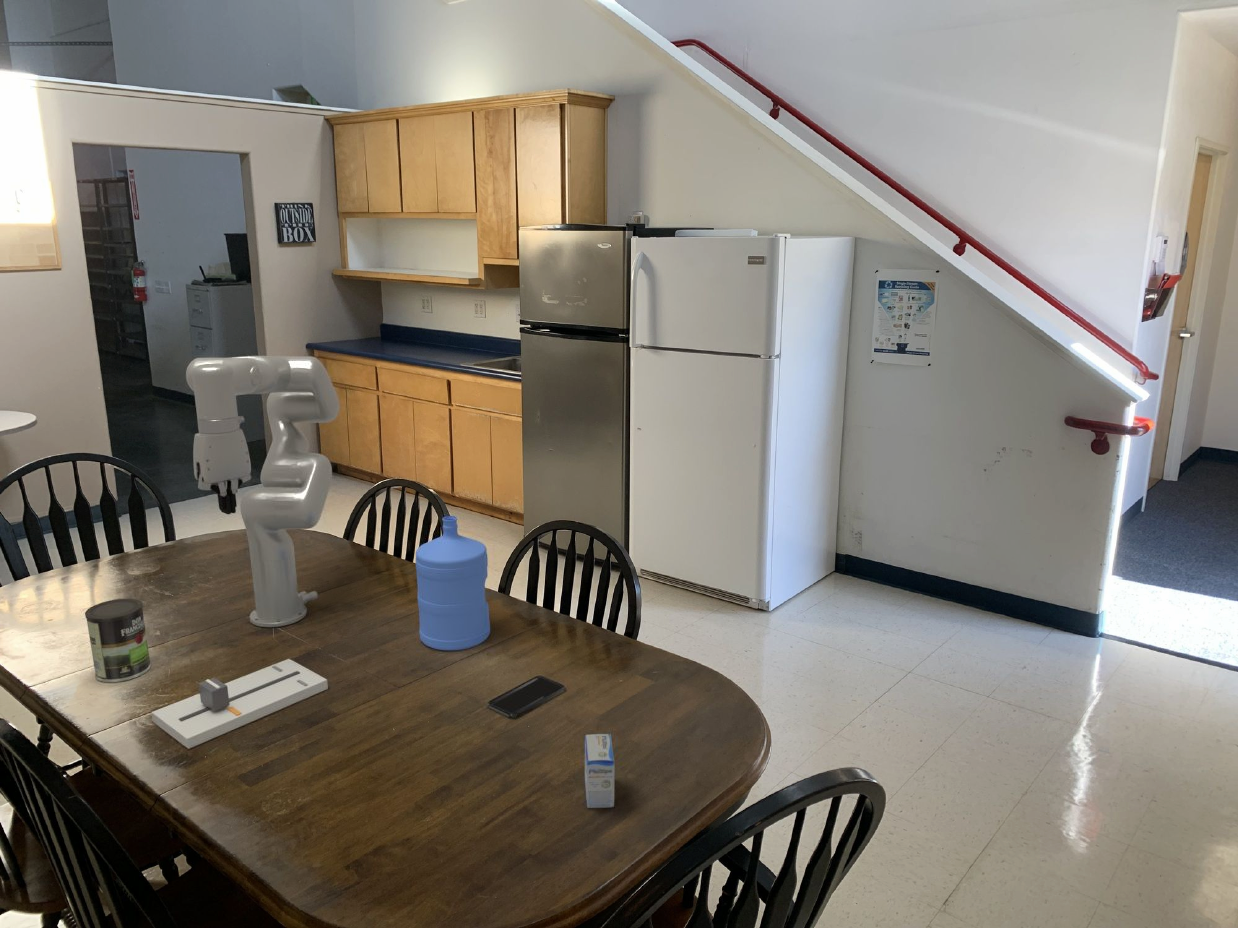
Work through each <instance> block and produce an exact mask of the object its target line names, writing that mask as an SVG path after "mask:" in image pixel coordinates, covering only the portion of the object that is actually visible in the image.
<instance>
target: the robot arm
mask: <svg viewBox="0 0 1238 928" xmlns="http://www.w3.org/2000/svg"><path fill="white" fill-rule="evenodd" d="M185 378H186V379H185V380H186V383H187V385H188V386H189V388H190V389H191V390H192V391H193V394H194V402H195V408H196V417H197V418H196V420H197V428H198V429H197V430H198V433H194V438H193V439H194V440H193V447H192V448H193V451H192V455H193V456H192V458H193V473H194V474H193V475H194V478H195V480H196V481H197V484H198V485H197V488H198V489H199V490H201V491H211V492H214V494H215V495H217V501H218V509H219V510H220V511H221V513H224V514H226V515H232V514H235V513H237V509H236V508H237V498H236V496H237V495H236V494H237V493H238V490H239V489H240V487H241V485H242V484H243V483H246V482H248V481H251V479H252V475H251V471H252V467H251V466H252V465H251V458H250V452H249V447H248V443H247V440H246V436H245V434H244V431H243V429H241V426H240V425H241V423H245V418H244V415H239V413H238V405H237V404H238V403H237V396H240V395H241V396H243V395H263V394H268V397H267V399H266V412H267V413H266V414H267V417H268V422H269V426H270V431H271V435H272V441H271V445H270V447H269V450H268V453H267V456H266V458H265V460H264V463H263V465H262V469H261V470H260V471H261V472H260V479H259V480H260V482H261V487H255V488H251V489H249V490H248V491H246V492H245V493H244V494H243V496H242V497H241V500H240V503H239V504H240V505H239V508H240V514H241V518H242V521H243V525H244V527H245V531H246V535H247V541H248V547H249V554H250V556H249V557H250V566H251V573H252V574H251V577H252V583H253V592H254V601H255V609H253V611H251V613H250V614H249V622H250V623H251V624H253V625H254V626H257V627H261V628H277V627H279V628H280V627H284V626H288V625H291V624H294V623H296V622H299V621H301V620H302V619H303V618H304V617H306V615H307V613H308V611H307V610H308V609H307V607H306V606H305V605H306V604H307V602H310V601H314V600H316V599H318V592H317V591H315V590H313V591H311V592H306V591H305V590H303V591H301V592H298V591H299V590H298V578H297V570H296V568H297V567H296V558H295V547H294V546H295V545H294V543H293V540H292V538H291V536H290V535H289V533H288V532H287V530H308V529H313V528H314V527H315V526H317V525H318V523H319V521H320V520H321V519H320V518H322V515H323V514H322V513H323V510H324V507H325V504H326V500H327V498H328V495H329V492H330V489H331V488H330V487H331V484H332V479H333V467H332V464H331V461H330V460H329V458H328V457H327V456H325V455H324V454H322V453H315V452H309V448H310V444H309V443H310V442H309V440H308V438H307V437H306V436H305V434H304V432H302V430H300V429H299V428H298V427H297V426H296V424H295V423H301V424H304V423H308V424H309V423H311V424H312V423H313V424H314V423H315V424H318V423H320V424H322V423H323V424H324V423H325V424H326V423H331V422H333V421H335V420H336V418H337V417H338V415H339V412H340V401H339V400H340V399H339V397H338V393H337V391H336V389H335V387H334V385H333V382H332V379H331V378H330V375H329V373H328V371H327V369H326V367H325V366H324V365H323V363H322V362H321V361H320V360H319V359H318V358H317V357H315V356H310V355H309V356H306V355H305V356H304V355H303V356H302V355H301V356H300V355H294V356H293V355H289V356H288V355H246V356H232V357H197V358H194V359H192V360H191V361H190V363H188V366H187V368H186V372H185Z"/></svg>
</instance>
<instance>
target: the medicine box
mask: <svg viewBox="0 0 1238 928" xmlns="http://www.w3.org/2000/svg"><path fill="white" fill-rule="evenodd" d="M615 769H616V768H615V758H614V751H613V742H612V735H611V733H610V734H609V733H596V734H586V735H585V736H584V786H585V787H584V788H585V798H586V801H585V802H586V807H587V809H605V808H607V809H608V808H614V807H615Z"/></svg>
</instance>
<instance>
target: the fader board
mask: <svg viewBox="0 0 1238 928" xmlns="http://www.w3.org/2000/svg"><path fill="white" fill-rule="evenodd" d="M224 684H225V685H227V688H228V696H229V704H230V705H229V706H226V707H224V708H221V709H219V710H216V711H213V710H211V709H210V708H208V707H207V706H205V705H204V704H202V703H201V699H200V693H197V694H195V695H193V696H190V697H187V698H184V699H182V700H179V701H177V702H174V703H171V704H169V705H167V706H164V707H162V708H159V709H156V710H153V711H151V717H152V718H151V719H152V723H154V724H155V725H156V726H157V727H159V728H161V730H163V731H164V732H166V733H167V734H168V735H170V737H172V738H174V739H175V740H176V741H178V742H179V743H180V744H181V745H182V746H184V747H185V748H187V749H188V750H189V749H191V748H194V747H196V746H199V745H201V744H203V743H205V742H208V741H210V740H213V739H215V738H217V737H220V736H222V735H224V734H226V733H229V732H231V731H233V730H235V729H238V728H240V727H242V726H245V725H247V724H249V723H252V722H254V721H256V720H259V719H261V718H264V717H265V716H268V715H270V714H273V713H275V712H277V711H280V710H282V709H284V708H287V707H289V706H292V705H293V704H295V703H296V704H297V703H298V702H301V701H304V700H305V699H308V698H310V697H312V696H315V695H317V694H319V693H322V692H324V691H326V690H328V689H329V688H328V687H329V684H328V679H327V678H325V677H323V676H321V675H319V674H318V673H316V672H314V671H312V670H311V669H308V668H307V667H305V666H303V665H301V664H300V663H297V662H296V661H295V660H292V659H290V658H287V659H285V660H282V661H280V662H277V663H274V664H272V665H270V666H267V667H264V668H262V669H259V670H257V671H253V672H251V673H249V674H246V675H243V676H241V677H239V678H236V679H234V680H230V681H228V682H226V683H224Z"/></svg>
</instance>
